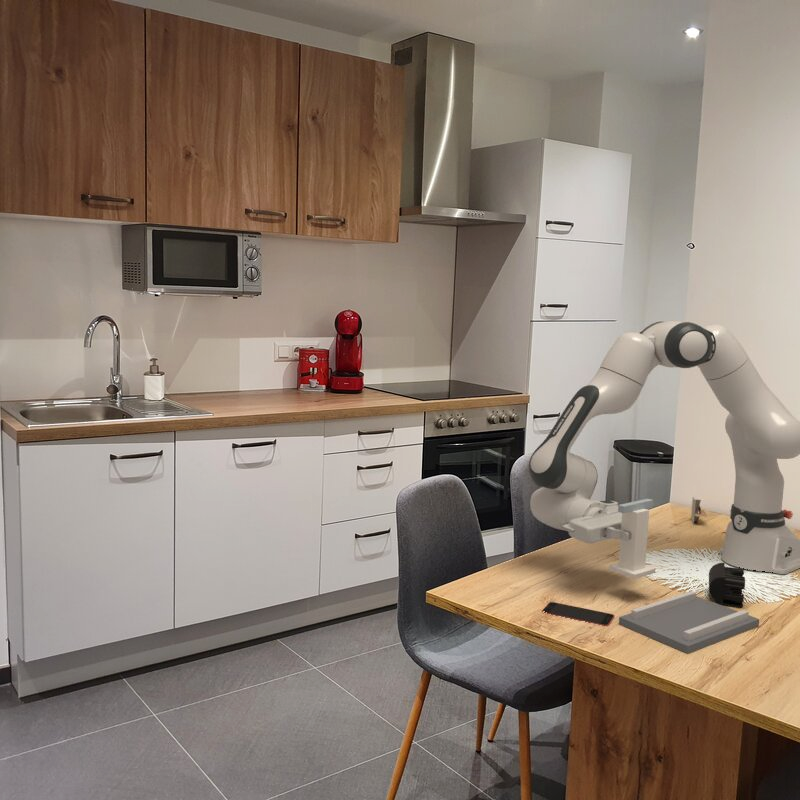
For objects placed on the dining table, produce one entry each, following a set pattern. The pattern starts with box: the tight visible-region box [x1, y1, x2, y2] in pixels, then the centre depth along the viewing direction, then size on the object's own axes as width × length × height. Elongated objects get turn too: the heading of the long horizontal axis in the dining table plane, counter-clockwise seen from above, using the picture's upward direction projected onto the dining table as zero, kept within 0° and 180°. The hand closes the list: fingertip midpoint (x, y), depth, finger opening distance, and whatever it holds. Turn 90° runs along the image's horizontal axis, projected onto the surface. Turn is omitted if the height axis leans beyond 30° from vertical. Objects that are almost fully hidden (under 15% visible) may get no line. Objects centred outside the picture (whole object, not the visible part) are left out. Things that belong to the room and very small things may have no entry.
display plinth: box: [618, 590, 760, 654], centre depth 168 cm, size 24×16×3 cm, turn 126°
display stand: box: [608, 498, 656, 580], centre depth 181 cm, size 7×10×16 cm
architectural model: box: [690, 496, 708, 525], centre depth 243 cm, size 3×7×7 cm, turn 167°
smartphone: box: [541, 601, 616, 627], centre depth 172 cm, size 7×1×14 cm
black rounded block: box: [708, 562, 746, 609], centre depth 183 cm, size 10×7×7 cm
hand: (637, 534), depth 180 cm, fingers closed on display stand, 4 cm apart
